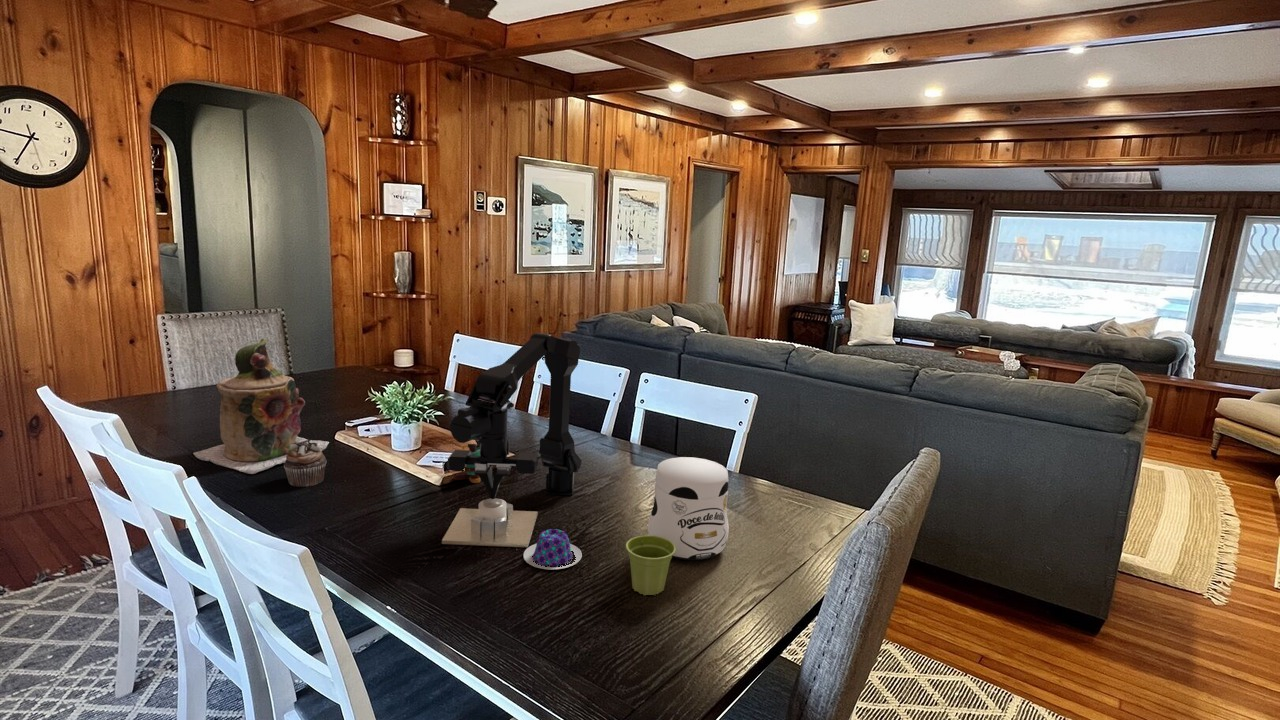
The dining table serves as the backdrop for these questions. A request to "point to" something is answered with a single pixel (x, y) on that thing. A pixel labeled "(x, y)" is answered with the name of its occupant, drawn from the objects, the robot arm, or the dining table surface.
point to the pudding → (552, 550)
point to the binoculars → (470, 468)
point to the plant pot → (649, 563)
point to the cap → (492, 509)
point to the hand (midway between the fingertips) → (492, 498)
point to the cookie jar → (256, 415)
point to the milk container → (691, 507)
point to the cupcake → (305, 464)
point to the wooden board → (491, 528)
